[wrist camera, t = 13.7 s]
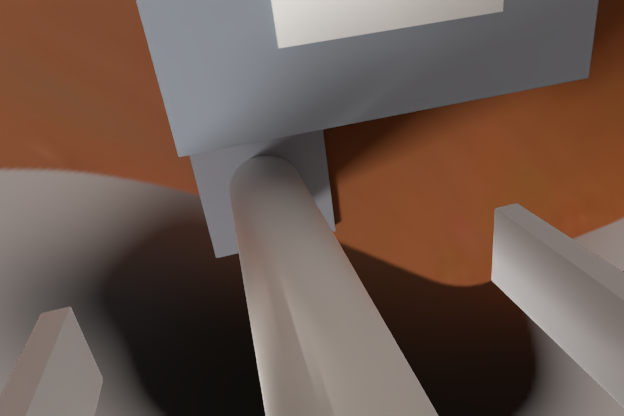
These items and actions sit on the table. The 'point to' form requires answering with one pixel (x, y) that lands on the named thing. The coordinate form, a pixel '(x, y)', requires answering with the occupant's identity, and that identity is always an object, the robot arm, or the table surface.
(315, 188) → the pad
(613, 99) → the table surface
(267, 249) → the stylus
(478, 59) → the panel
